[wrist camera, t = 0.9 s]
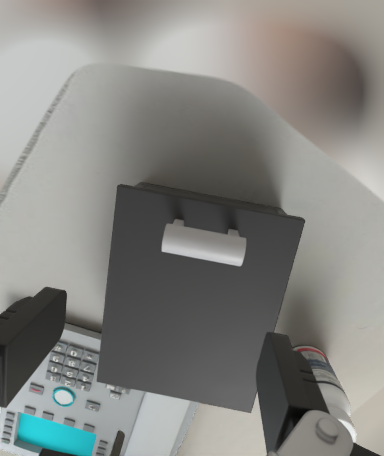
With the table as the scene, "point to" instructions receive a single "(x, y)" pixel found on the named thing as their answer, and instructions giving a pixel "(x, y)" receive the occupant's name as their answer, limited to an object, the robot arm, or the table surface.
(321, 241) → the table surface
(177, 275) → the lid
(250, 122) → the table surface
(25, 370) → the robot arm
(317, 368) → the pill bottle
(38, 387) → the office telephone
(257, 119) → the table surface
